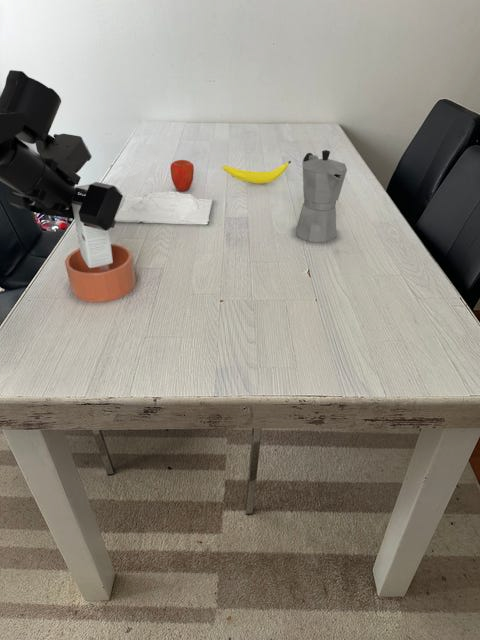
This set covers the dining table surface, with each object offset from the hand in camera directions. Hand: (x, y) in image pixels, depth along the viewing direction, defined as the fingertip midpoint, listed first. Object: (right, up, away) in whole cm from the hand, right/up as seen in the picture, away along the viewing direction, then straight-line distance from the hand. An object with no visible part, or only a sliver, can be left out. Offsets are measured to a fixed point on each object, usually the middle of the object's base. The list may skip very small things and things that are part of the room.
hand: (97, 220), depth 74 cm
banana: (+28, +21, +50) cm, 61 cm away
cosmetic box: (-1, -6, +3) cm, 7 cm away
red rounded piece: (+9, +19, +46) cm, 50 cm away
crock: (-1, -10, +6) cm, 12 cm away
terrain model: (+6, +10, +33) cm, 35 cm away
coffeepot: (+40, +3, +25) cm, 48 cm away
